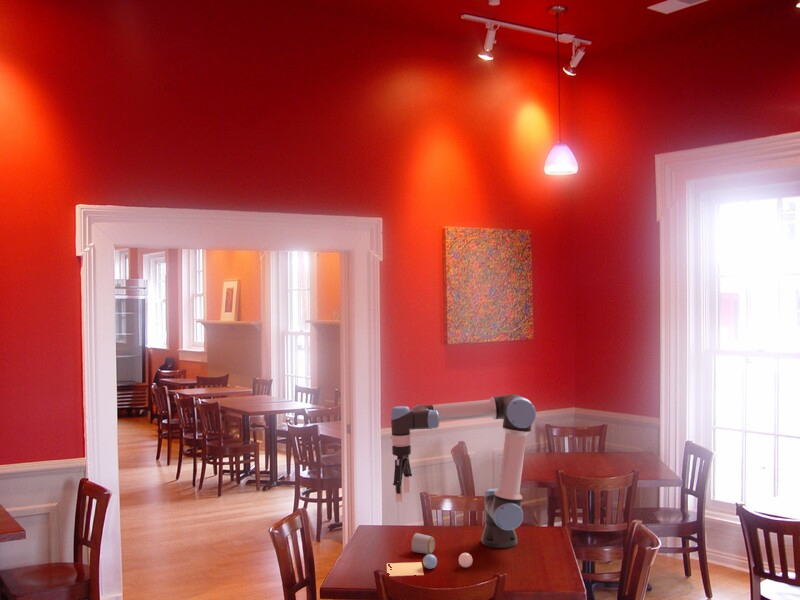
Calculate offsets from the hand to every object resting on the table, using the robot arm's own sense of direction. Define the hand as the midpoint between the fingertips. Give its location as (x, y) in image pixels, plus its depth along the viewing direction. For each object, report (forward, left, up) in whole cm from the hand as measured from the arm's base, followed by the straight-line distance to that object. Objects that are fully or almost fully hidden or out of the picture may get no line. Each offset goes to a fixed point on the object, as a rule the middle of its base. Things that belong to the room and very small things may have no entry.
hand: (403, 496), depth 317 cm
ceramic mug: (-9, -8, -26) cm, 28 cm away
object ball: (-9, +12, -23) cm, 27 cm away
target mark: (+1, +12, -25) cm, 28 cm away
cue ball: (-23, +12, -23) cm, 35 cm away
